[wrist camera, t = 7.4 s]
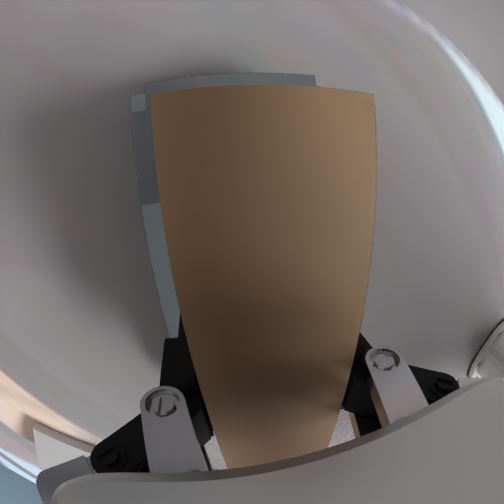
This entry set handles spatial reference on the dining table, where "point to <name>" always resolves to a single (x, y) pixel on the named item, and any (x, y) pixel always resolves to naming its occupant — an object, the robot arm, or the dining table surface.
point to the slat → (268, 253)
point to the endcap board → (149, 176)
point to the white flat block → (57, 447)
